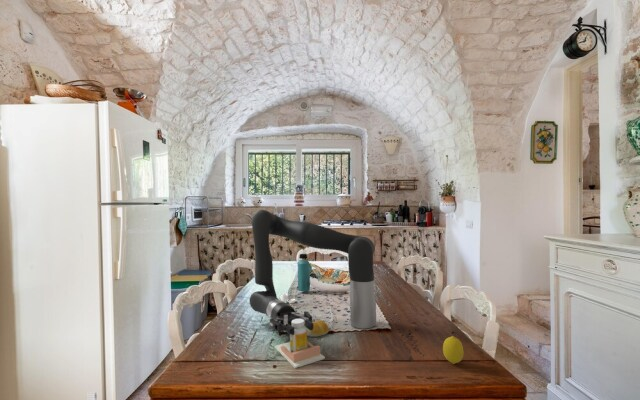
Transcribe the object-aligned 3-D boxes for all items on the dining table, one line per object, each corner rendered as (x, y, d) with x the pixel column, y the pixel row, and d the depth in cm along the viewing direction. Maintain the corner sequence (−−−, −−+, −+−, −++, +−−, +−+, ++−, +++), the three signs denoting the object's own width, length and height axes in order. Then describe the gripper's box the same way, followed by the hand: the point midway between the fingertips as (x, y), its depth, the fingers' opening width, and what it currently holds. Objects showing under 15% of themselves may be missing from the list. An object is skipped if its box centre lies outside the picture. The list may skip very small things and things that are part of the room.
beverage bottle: (308, 294, 160) (308, 255, 160) (296, 294, 161) (295, 254, 161) (311, 290, 166) (311, 253, 166) (299, 290, 168) (298, 252, 168)
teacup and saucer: (298, 302, 149) (298, 294, 149) (287, 307, 142) (287, 298, 142) (283, 299, 154) (283, 291, 154) (272, 304, 147) (272, 295, 147)
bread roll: (332, 333, 114) (332, 322, 114) (311, 339, 109) (311, 328, 109) (320, 325, 121) (319, 315, 121) (299, 331, 116) (299, 320, 116)
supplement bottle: (287, 353, 98) (285, 322, 98) (296, 346, 103) (294, 316, 103) (302, 357, 95) (300, 325, 95) (310, 349, 100) (309, 318, 100)
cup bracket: (274, 347, 103) (274, 338, 103) (301, 340, 108) (301, 331, 108) (295, 368, 90) (295, 357, 90) (324, 358, 95) (324, 348, 95)
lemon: (439, 359, 94) (439, 332, 94) (457, 358, 95) (457, 331, 95) (448, 369, 89) (448, 341, 89) (467, 368, 89) (467, 340, 89)
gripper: (260, 305, 107) (281, 322, 93) (298, 298, 115) (322, 312, 100) (261, 328, 107) (281, 347, 93) (298, 319, 115) (323, 336, 100)
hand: (302, 329), depth 97 cm, fingers open, 6 cm apart
